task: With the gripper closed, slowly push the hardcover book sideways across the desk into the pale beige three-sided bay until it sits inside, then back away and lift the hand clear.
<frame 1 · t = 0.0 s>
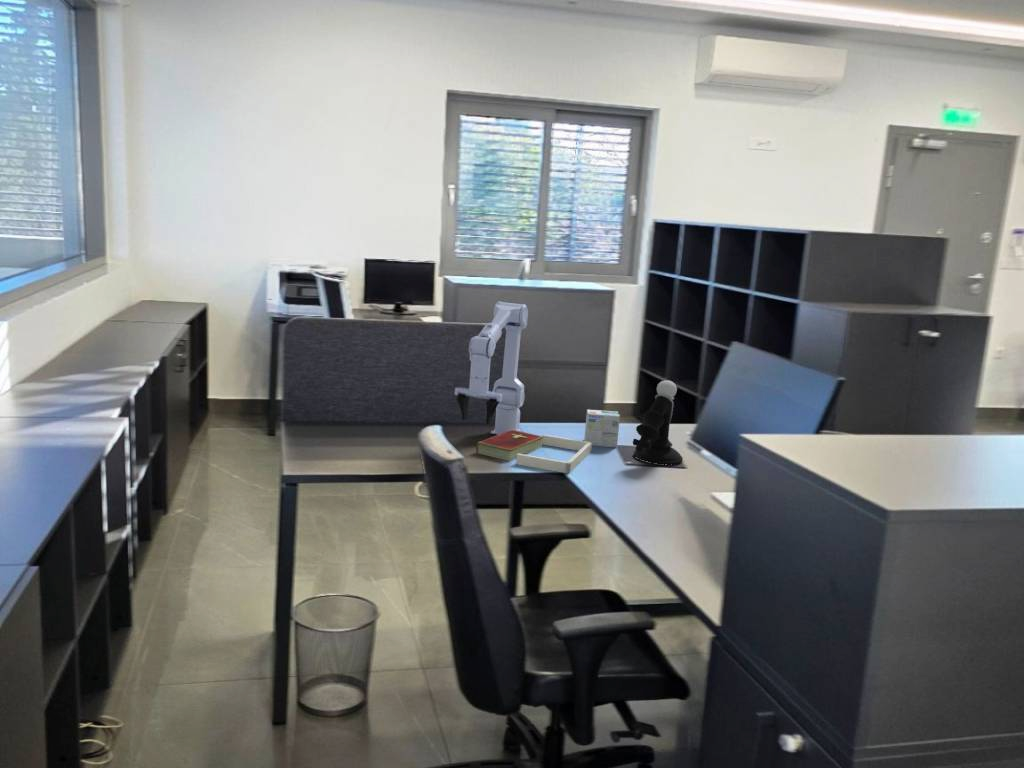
hand: (476, 421, 257), 10 cm above the table, tool pointing down, fingers open, 7 cm apart
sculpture: (652, 461, 266), on the table
document bay: (553, 457, 262), on the table
light bulb box: (600, 444, 281), on the table
hardcover book: (509, 452, 266), on the table
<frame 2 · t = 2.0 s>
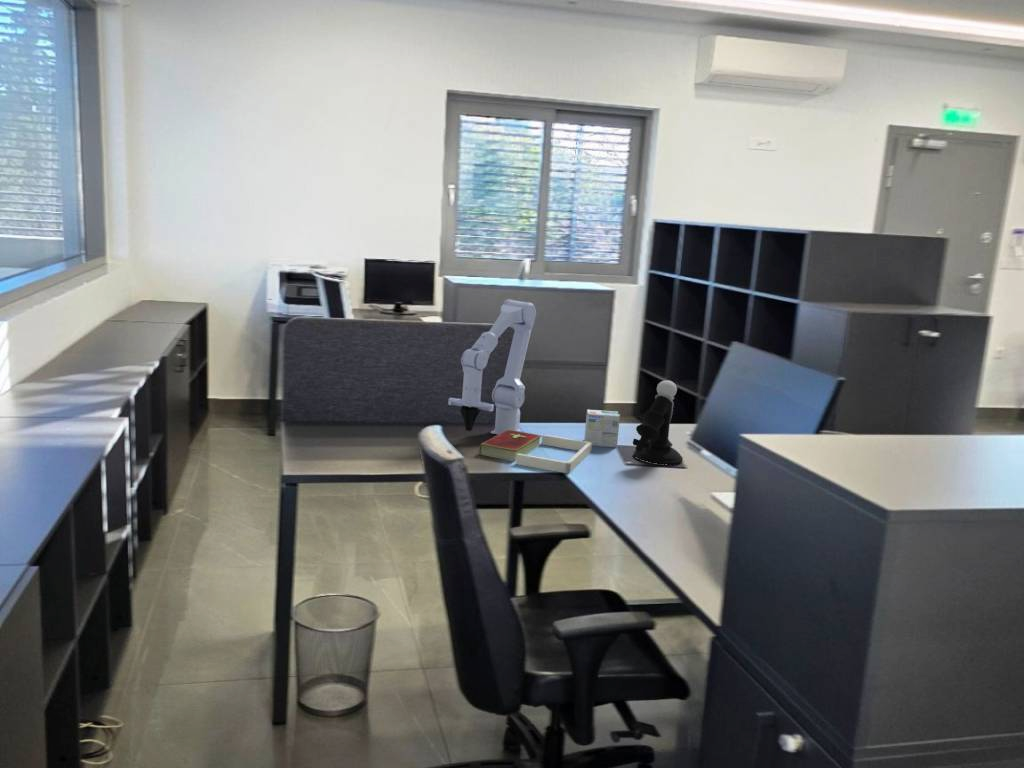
hand: (468, 430, 269), 4 cm above the table, tool pointing down, fingers closed
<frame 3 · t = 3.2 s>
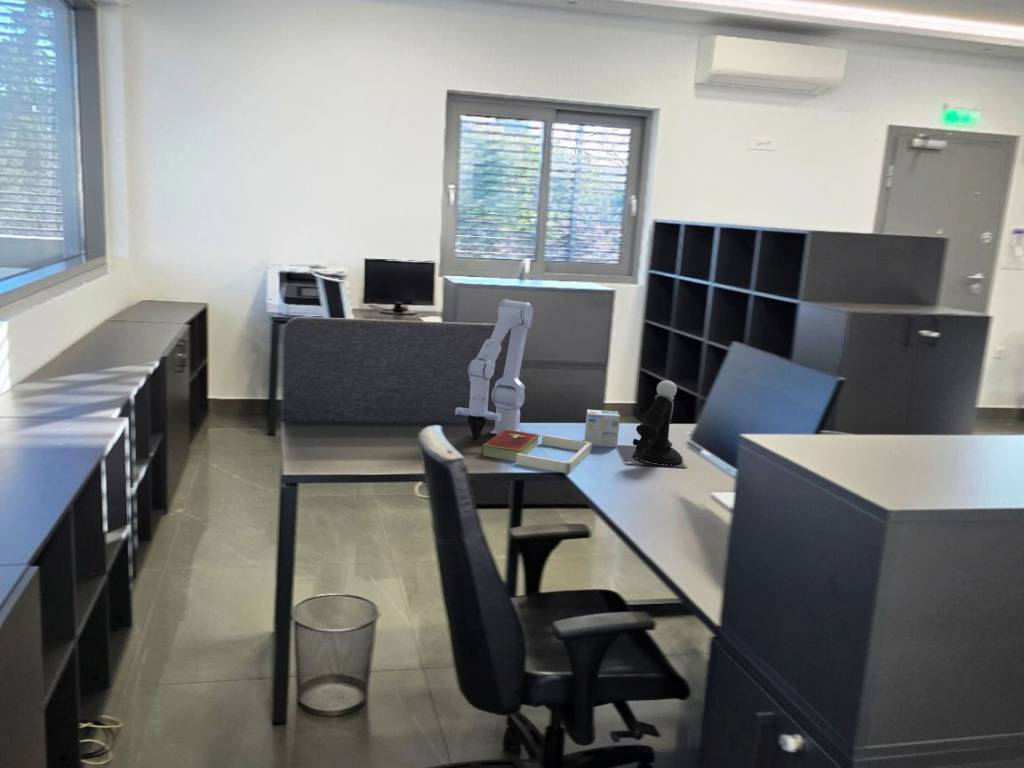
hand: (476, 439, 269), 1 cm above the table, tool pointing down, fingers closed
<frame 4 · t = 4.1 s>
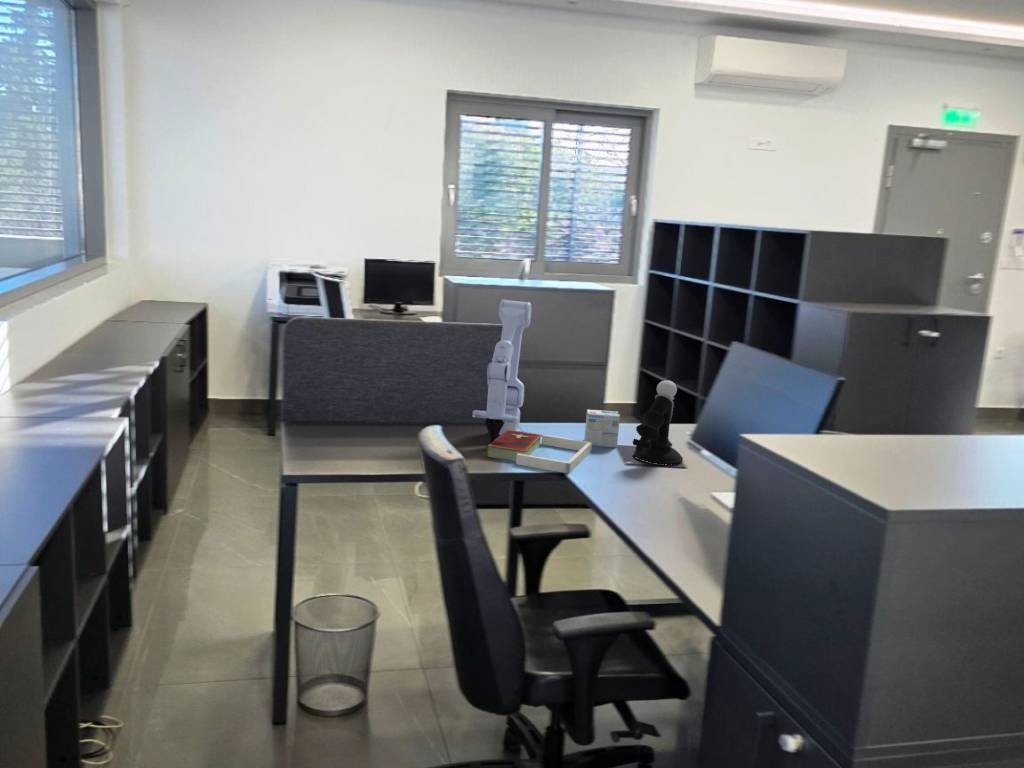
hand: (493, 442, 267), 1 cm above the table, tool pointing down, fingers closed
hardcover book: (514, 452, 266), on the table, touching gripper
everything else where it was.
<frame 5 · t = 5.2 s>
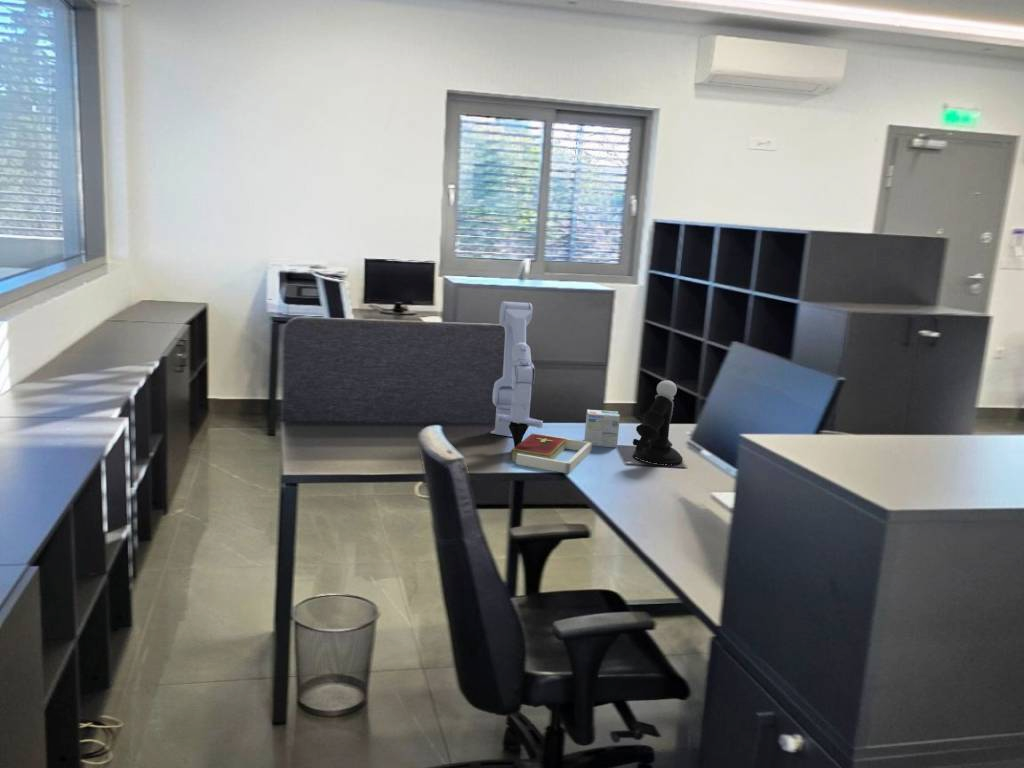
hand: (517, 446, 265), 1 cm above the table, tool pointing down, fingers closed
hardcover book: (538, 456, 264), on the table, touching gripper
everything else where it was.
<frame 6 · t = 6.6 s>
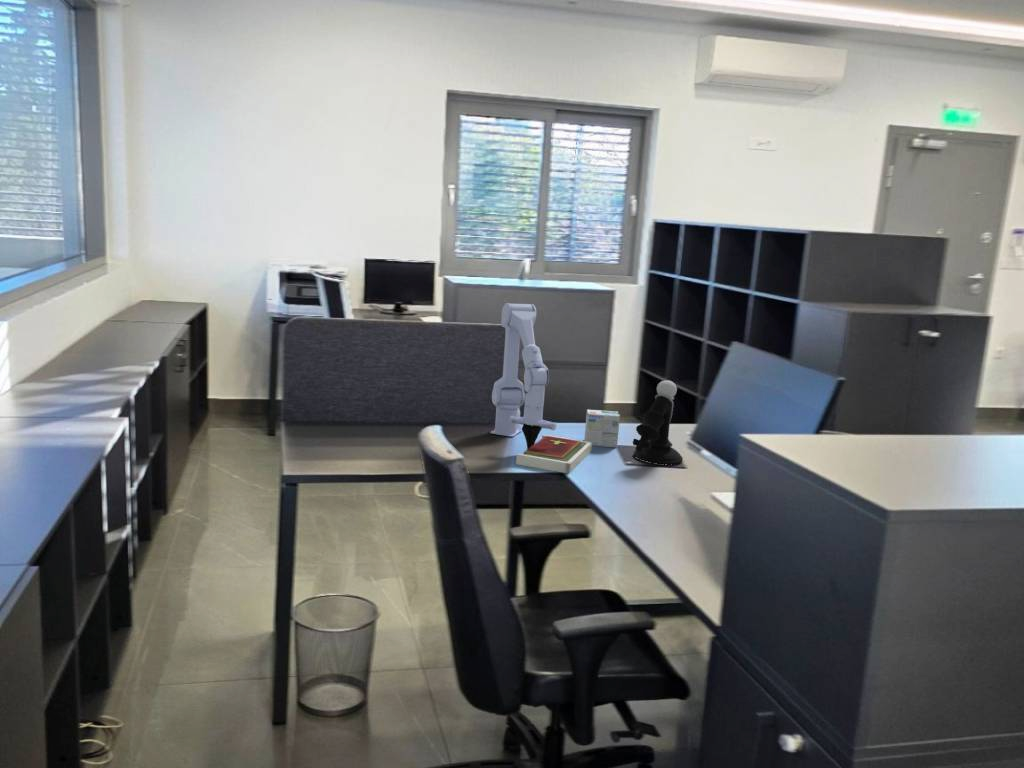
hand: (530, 448, 264), 1 cm above the table, tool pointing down, fingers closed
hardcover book: (552, 459, 262), on the table
everything else where it was.
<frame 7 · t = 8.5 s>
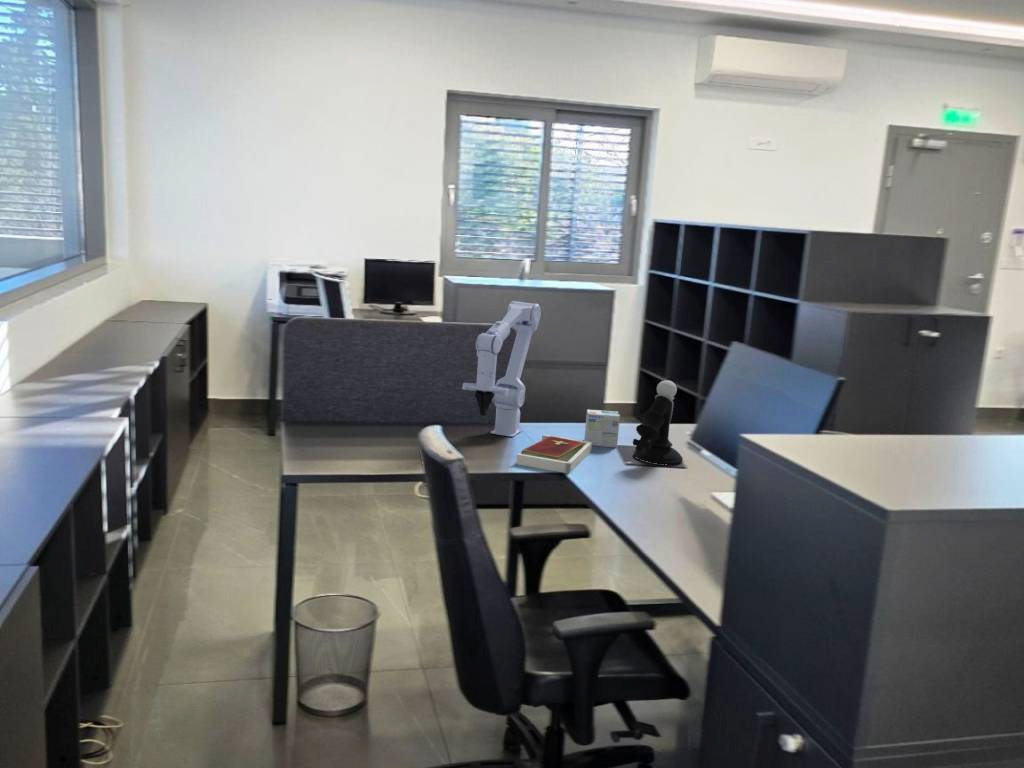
hand: (483, 414, 268), 9 cm above the table, tool pointing down, fingers closed
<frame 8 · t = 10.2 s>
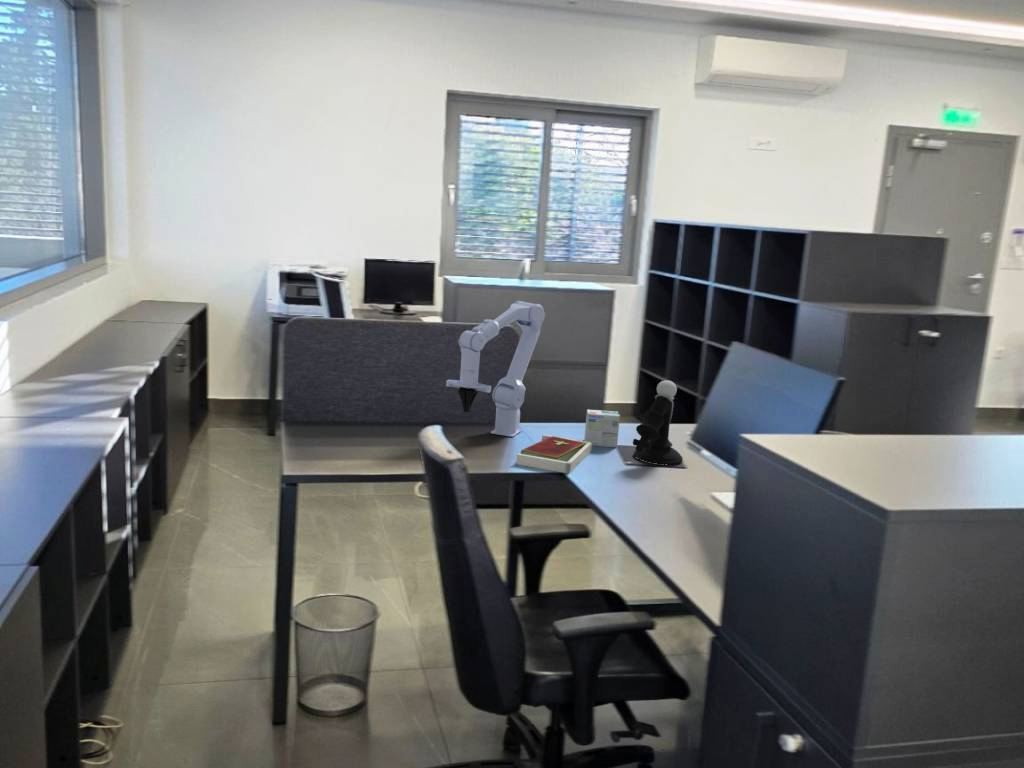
hand: (466, 411, 271), 9 cm above the table, tool pointing down, fingers closed
at the end: hardcover book 0.4 cm off-centre on the document bay, point -0.7 cm above the document bay's base; hardcover book tilted 0°; hardcover book moved 13.9 cm from its start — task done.
